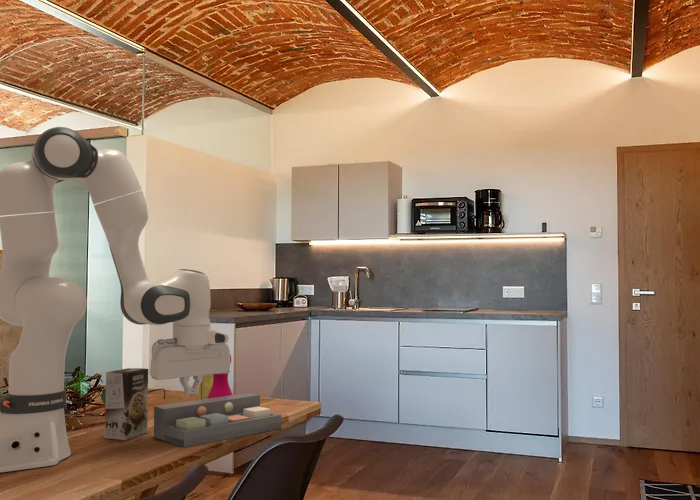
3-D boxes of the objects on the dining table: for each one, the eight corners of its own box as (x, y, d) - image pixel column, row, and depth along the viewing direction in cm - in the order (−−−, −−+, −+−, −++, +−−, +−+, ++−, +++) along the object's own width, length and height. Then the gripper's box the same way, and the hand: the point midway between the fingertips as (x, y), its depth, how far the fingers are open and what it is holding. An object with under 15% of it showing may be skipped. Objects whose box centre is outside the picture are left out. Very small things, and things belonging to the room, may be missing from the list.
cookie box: (126, 440, 166) (127, 372, 167) (103, 438, 168) (104, 371, 169) (148, 432, 175) (149, 368, 175) (127, 430, 177) (127, 367, 177)
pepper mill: (227, 419, 191) (228, 346, 192) (202, 418, 192) (203, 345, 193) (237, 414, 198) (237, 343, 199) (213, 413, 200) (213, 343, 200)
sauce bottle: (223, 404, 213) (223, 339, 214) (208, 407, 208) (209, 341, 209) (207, 402, 217) (208, 338, 217) (192, 405, 211) (193, 339, 212)
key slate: (210, 427, 167) (211, 418, 167) (199, 424, 170) (199, 415, 171) (228, 424, 170) (228, 416, 170) (216, 421, 174) (216, 413, 174)
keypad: (184, 447, 159) (184, 414, 160) (153, 437, 169) (154, 406, 170) (281, 428, 179) (281, 399, 180) (248, 420, 189) (249, 392, 190)
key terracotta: (233, 428, 171) (233, 420, 171) (221, 425, 175) (221, 417, 175) (249, 425, 175) (249, 417, 175) (238, 422, 178) (238, 414, 179)
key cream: (254, 419, 176) (254, 411, 176) (243, 416, 180) (243, 408, 180) (270, 416, 179) (270, 409, 180) (258, 414, 183) (258, 406, 183)
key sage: (187, 431, 162) (187, 422, 162) (175, 428, 166) (176, 419, 166) (205, 428, 166) (205, 419, 166) (194, 425, 169) (194, 416, 169)
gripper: (159, 340, 157) (158, 402, 157) (234, 335, 172) (233, 391, 171) (145, 338, 162) (144, 398, 161) (219, 333, 176) (219, 388, 176)
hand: (191, 395), depth 166 cm, fingers closed
